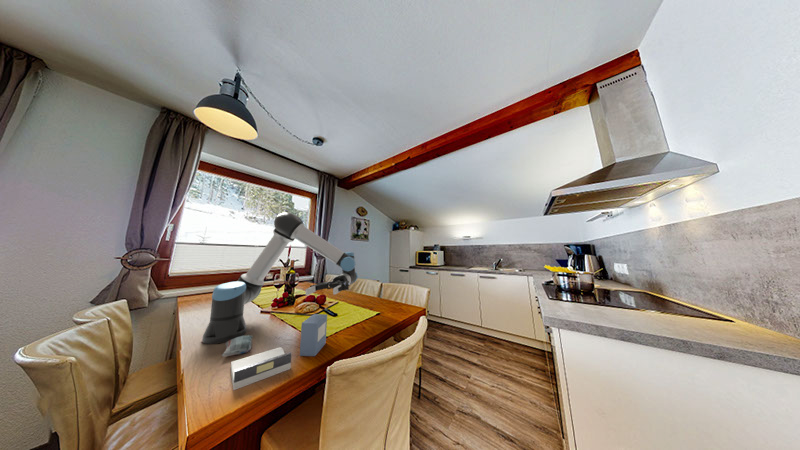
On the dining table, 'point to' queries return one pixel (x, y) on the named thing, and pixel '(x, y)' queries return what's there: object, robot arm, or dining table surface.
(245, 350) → the packaged food
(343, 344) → the dining table surface
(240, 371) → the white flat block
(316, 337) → the carton
